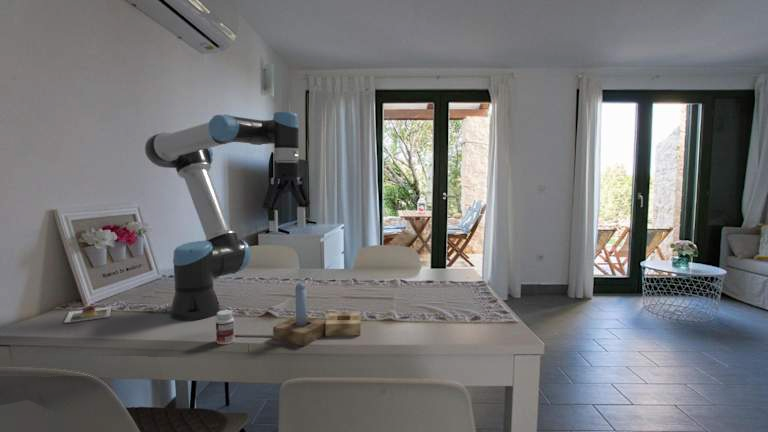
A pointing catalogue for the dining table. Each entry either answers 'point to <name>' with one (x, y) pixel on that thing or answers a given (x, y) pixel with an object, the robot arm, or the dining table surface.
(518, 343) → the dining table surface
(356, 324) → the light wood square frame
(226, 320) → the pill bottle
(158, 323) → the dining table surface
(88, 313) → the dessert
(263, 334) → the thin wooden stick
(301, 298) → the blue-grey peg
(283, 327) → the square wooden ring
